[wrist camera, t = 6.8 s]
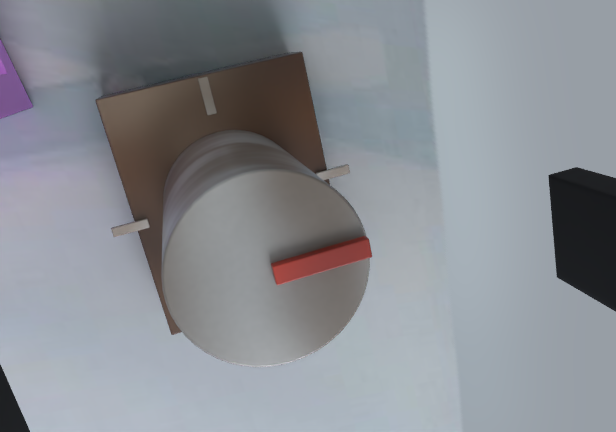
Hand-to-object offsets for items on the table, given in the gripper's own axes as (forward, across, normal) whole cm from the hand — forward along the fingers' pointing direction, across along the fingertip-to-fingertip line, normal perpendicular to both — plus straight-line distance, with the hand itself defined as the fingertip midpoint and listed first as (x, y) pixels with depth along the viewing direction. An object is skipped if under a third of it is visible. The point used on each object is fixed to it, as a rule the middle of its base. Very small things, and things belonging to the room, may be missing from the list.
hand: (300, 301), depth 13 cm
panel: (+13, -1, 0) cm, 13 cm away
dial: (+11, -1, 0) cm, 11 cm away
